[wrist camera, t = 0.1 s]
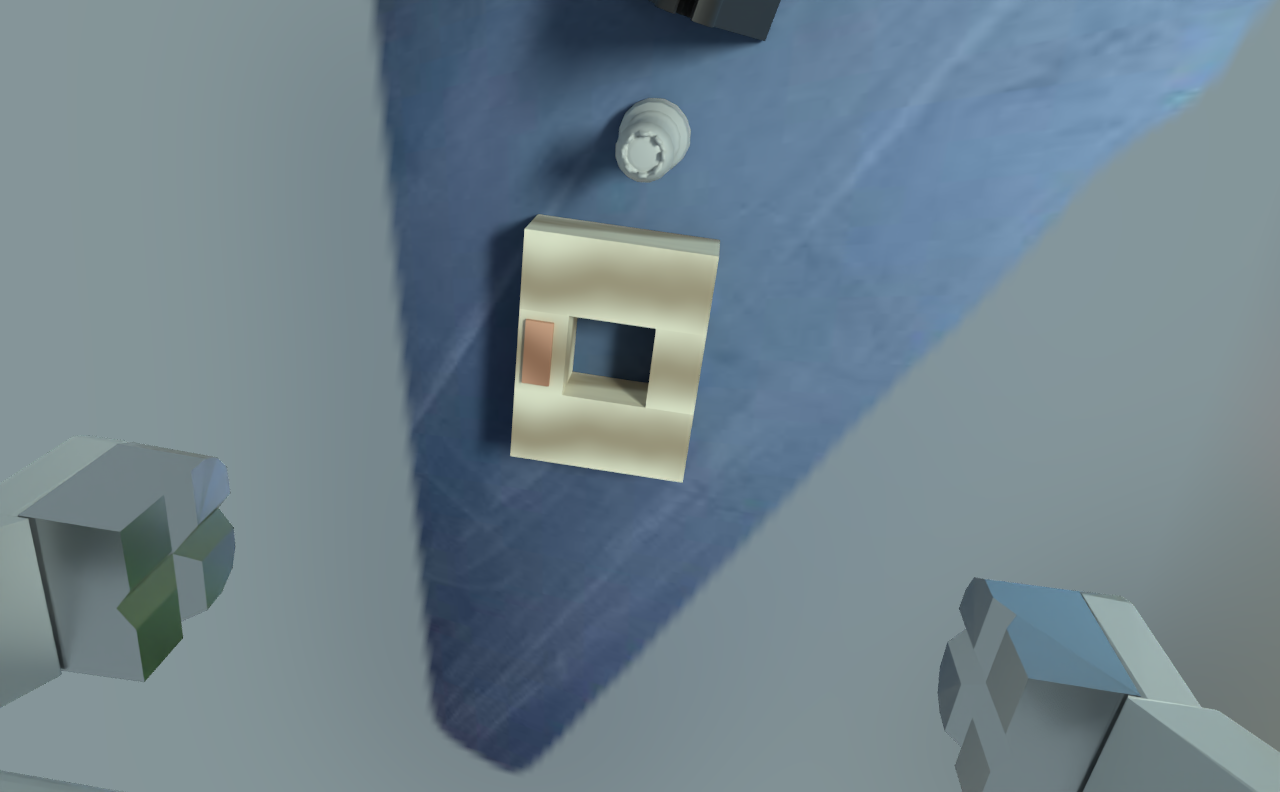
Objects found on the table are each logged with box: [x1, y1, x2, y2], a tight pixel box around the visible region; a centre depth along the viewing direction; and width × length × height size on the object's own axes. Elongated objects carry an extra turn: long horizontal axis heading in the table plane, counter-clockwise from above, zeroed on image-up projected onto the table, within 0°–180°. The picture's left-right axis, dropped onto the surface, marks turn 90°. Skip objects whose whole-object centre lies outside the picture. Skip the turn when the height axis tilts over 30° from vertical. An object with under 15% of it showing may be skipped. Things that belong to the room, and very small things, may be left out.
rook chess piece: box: [615, 98, 691, 182], centre depth 50 cm, size 4×4×8 cm
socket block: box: [510, 214, 720, 483], centre depth 58 cm, size 16×12×4 cm
